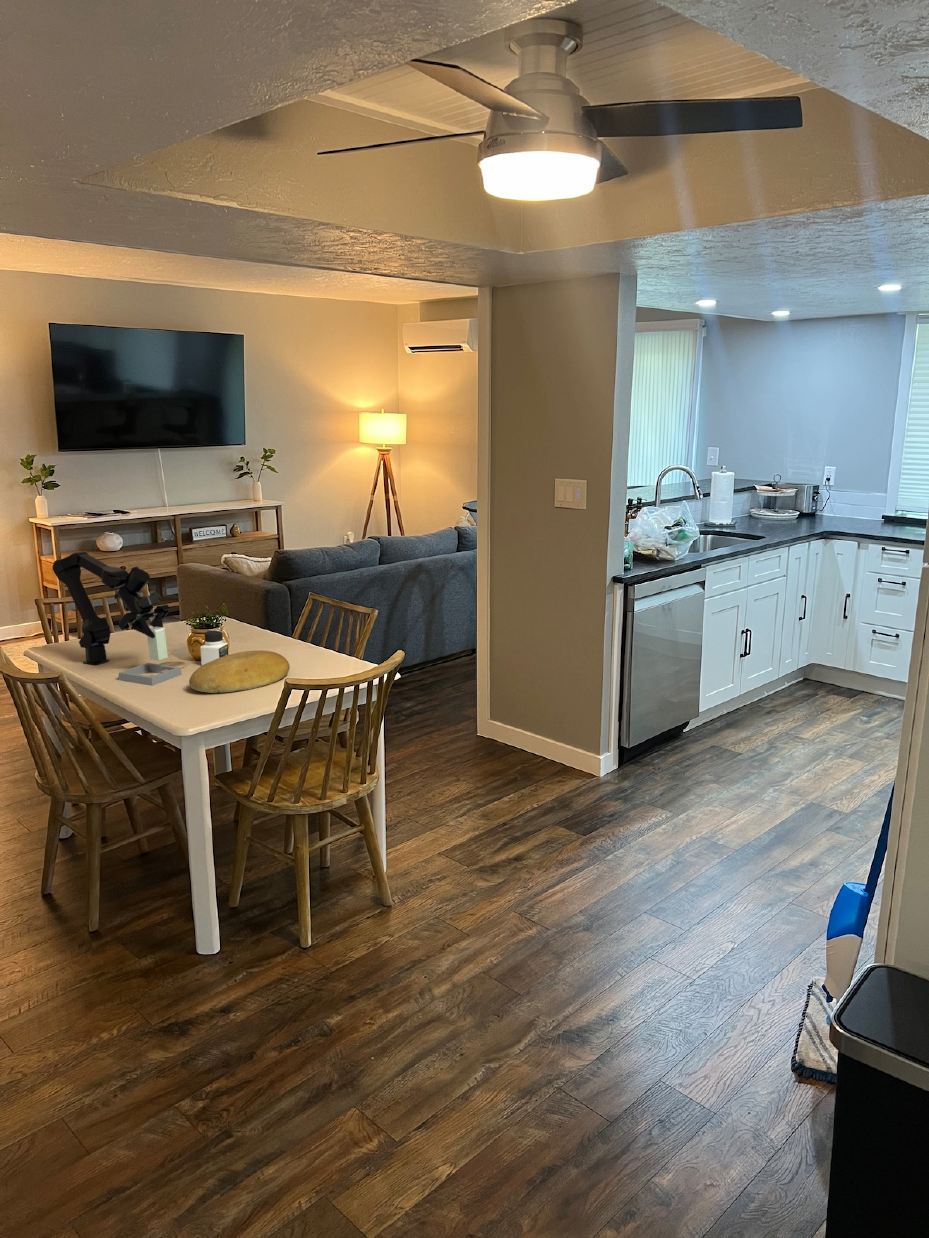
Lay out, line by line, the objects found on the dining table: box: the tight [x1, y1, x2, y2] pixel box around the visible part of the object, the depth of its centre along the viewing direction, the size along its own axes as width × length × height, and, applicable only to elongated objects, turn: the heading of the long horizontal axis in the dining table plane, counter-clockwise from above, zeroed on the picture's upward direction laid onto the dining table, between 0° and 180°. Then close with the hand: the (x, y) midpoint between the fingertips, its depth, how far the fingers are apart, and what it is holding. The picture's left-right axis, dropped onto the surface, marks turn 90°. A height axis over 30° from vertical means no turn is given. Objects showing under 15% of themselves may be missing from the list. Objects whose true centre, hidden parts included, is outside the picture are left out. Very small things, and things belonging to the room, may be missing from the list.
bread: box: [188, 649, 291, 694], centre depth 299 cm, size 18×35×10 cm, turn 139°
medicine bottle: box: [200, 629, 230, 666], centre depth 321 cm, size 7×7×12 cm
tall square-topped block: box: [146, 626, 169, 662], centre depth 308 cm, size 4×4×10 cm
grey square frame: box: [118, 662, 182, 686], centre depth 306 cm, size 14×13×2 cm
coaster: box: [159, 661, 187, 669], centre depth 319 cm, size 10×10×1 cm
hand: (159, 636), depth 307 cm, fingers closed on tall square-topped block, 4 cm apart
